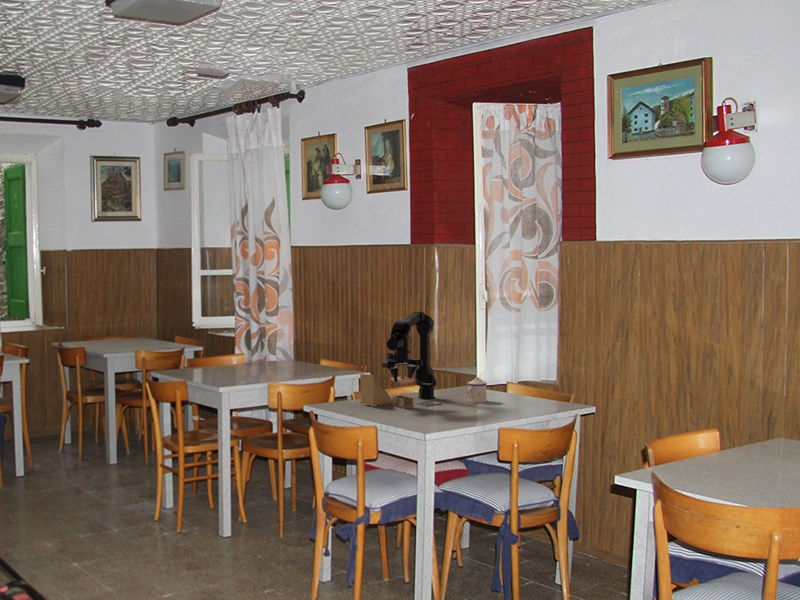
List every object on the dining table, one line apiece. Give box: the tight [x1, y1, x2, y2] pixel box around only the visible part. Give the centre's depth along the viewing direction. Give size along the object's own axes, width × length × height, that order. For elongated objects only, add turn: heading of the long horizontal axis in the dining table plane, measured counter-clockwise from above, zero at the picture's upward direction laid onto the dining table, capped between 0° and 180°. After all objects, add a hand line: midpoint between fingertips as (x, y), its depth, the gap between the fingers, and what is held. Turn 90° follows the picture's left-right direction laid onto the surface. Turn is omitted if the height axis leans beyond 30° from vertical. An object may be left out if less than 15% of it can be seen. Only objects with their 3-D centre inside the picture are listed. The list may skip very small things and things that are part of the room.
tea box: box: [392, 394, 414, 409], centre depth 423 cm, size 10×5×4 cm, turn 29°
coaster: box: [415, 400, 443, 407], centre depth 430 cm, size 9×9×1 cm
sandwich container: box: [359, 373, 393, 407], centre depth 433 cm, size 9×15×15 cm, turn 140°
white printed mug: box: [466, 376, 487, 404], centre depth 435 cm, size 12×9×12 cm
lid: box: [390, 376, 415, 385], centre depth 423 cm, size 11×7×3 cm, turn 29°
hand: (402, 381), depth 423 cm, fingers closed on lid, 7 cm apart
